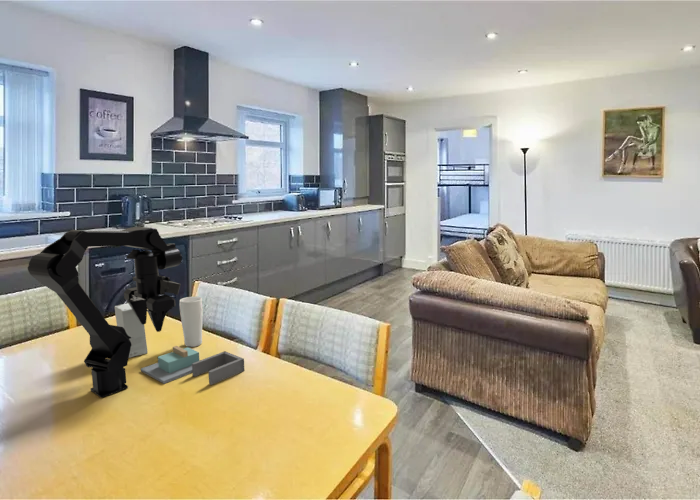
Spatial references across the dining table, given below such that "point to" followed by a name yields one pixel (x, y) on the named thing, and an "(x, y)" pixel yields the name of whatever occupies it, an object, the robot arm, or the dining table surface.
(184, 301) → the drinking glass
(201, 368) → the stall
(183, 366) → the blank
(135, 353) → the skincare box
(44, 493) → the dining table surface
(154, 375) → the mat
